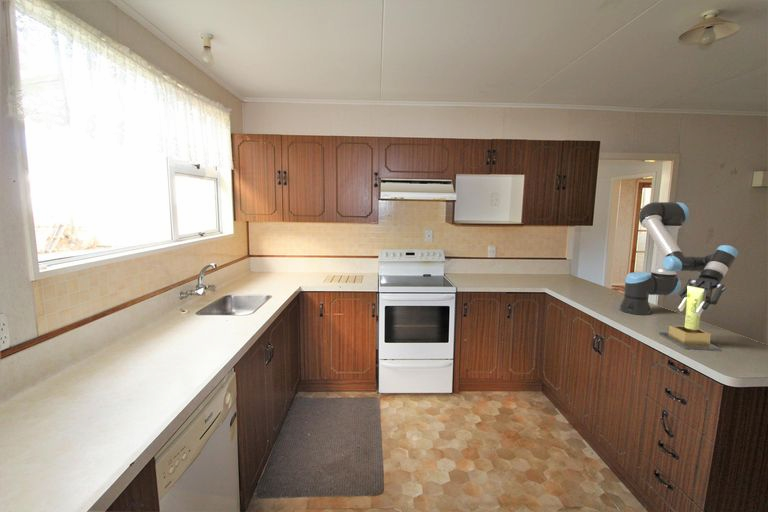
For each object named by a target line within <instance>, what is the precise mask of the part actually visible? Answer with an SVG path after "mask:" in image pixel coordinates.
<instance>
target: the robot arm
mask: <svg viewBox="0 0 768 512" xmlns="http://www.w3.org/2000/svg"><path fill="white" fill-rule="evenodd" d="M689 217H690V210H689V207H688V206H687V204H685V203H683V202H677V201H676V202H675V201H673V202H672V201H667V202H666V201H665V202H663V201H662V202H659V201H657V202H656V201H655V202H650V203H647V204H646V205H644V206H642V208H641V209H640V211H639V213H638V220H639V223H640V225H641V226H642V228H644V229H646V231H647V232H648V233H649V235H650V237H651V239H652V240H653V241H654V243H655V244H656V253H655V254H656V256H655V264H654V269H653V270H651V273H649V272H645V271H635V272H629V273H627V275H626V277H625V280H624V282H625V284H624V296H623V299H622V300H621V303H620V304H619V308H618V309H619V310H620V311H621V312H624V313H626V314H632V315H637V316H638V315H639V316H648V315H650V314H651V307H650V306H651V305H650V303H649V297H650V295H651V296H652V295H653V296H672V295H675V294H677V293H678V292H679V291H680V289H681V288H682V287H681V286H682V281H681V278H680V277H679V276H678V275H677V274H678V273H677V272H693V273H696V274H699V276H698V278H697V279H695V280H692V279H691V278H689V279H687V283H686V284H685V285H684V287H683V288H682V289H681V291H680V292H679V294H678V295H679V297H680V298H681V299H680V300H679V303H680V304H679V305H678V306H677V309H678V310H679V312H683V311H684V309H686V303H687V286H692V287H697V288H702V289H704V291H706V292H705V293H706V294H705V300H703V301H702V303H701V304H700V306H699V307H698V309H697V311H696V313H697V315H698V316H700V317H701V314H702V313H703V312H704V310H707V309H708V308H709V306H710V305H714V306H715V305H717V304H718V301H719V300H720V297H721V296H722V293H724V292H725V291H726V289H727V288H726V286H725V284H720V283H721V282H722V280H723V279H724V277H725V275H726V274H727V272H728V271H729V269H730V267H731V266H732V265H733V263H734V262H735V260H736V259H737V256H738V255H739V251H738V249H737V248H735V247H733V246H732V245H728V244H722V245H719V246H718V247H717V248H716V249H715V251H714V252H712V253H710V254H707V255H704V256H692V255H691V256H686V255H684V253H683V251H682V250H681V248H680V246H679V245H678V234H679V230H680V229H681V228H682V227H683V223H686V222H687V221H688V220H689ZM714 289H716V290H715V292H714V294H713V290H714ZM712 295H713V296H712Z"/></svg>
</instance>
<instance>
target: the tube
mask: <svg viewBox="0 0 768 512" xmlns="http://www.w3.org/2000/svg"><path fill="white" fill-rule="evenodd" d="M704 293H705V290H704V289H702V288H697V287H694V286H693V285H692V286H687V303H686V306H685V317H684V318H685V319H684V326H685V328H687V329H691V330H698V329H700V324H701V323H700V321H701V315H700V316H698V315H697V313H696V311H697V309H698V307H699V306H700V304H701V303H702V301H704V300H703V299H704Z"/></svg>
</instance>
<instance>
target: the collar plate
mask: <svg viewBox="0 0 768 512" xmlns="http://www.w3.org/2000/svg"><path fill="white" fill-rule="evenodd" d="M668 327H669V329H668V332H660V331H659V332H658V335H659V336H662V337H663V338H665V339H666V340H668V341H670V342H672V343H673V344H675V345H677V346H679V347H681V348H683V349H684V350H692V349H694V351H696V350H697V351H698V350H699V351H716V352H717V351H720V352H721V351H722V348H721V347H720V346H717V345H715V344H712V343H711V338H712V336H711V335H712V334H711V333H709V332H707V331H706V330H705V331H704V330H703V329H701V328H699V329H698V330H691V329H687V328H685V325H669V326H668Z"/></svg>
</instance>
